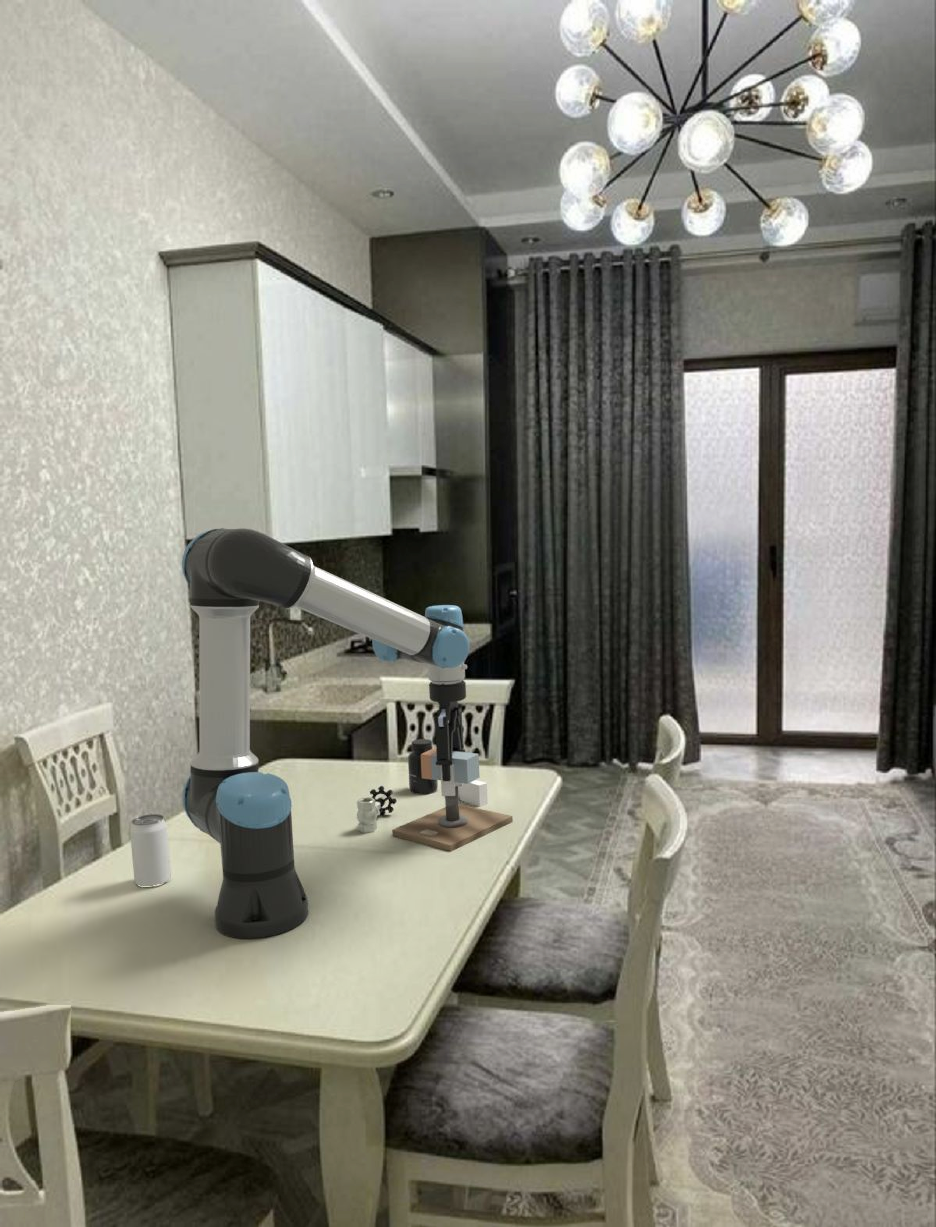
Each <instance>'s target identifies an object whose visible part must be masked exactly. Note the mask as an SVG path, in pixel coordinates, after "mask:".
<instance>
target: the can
mask: <svg viewBox="0 0 936 1227" xmlns="http://www.w3.org/2000/svg"><path fill="white" fill-rule="evenodd" d="M164 818H165V817H164V815H163V814H158V813H154V814H145V815H141V816H137V817H135V818H133V819H132V820H131V827H130V830H129V833H130V835H129V836H130V845H131V858H132V867H133V868H132V870H133V880H134V884H135V885H136V884H137V885H140V886H153V885H157V884H162V883H165V882H167V881H168V880H169V879H170V880H171V878H172V869H171V868H172V867H171V860H170V859H171V857H170V845H169V835H168V834H169V833H168V826H167V822H166V821H165V819H164ZM170 880H169V881H170ZM169 881H168V882H169ZM168 882H167V883H168ZM165 884H166V883H165ZM137 885H136V886H137Z"/></svg>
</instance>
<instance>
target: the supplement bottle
mask: <svg viewBox="0 0 936 1227" xmlns="http://www.w3.org/2000/svg"><path fill="white" fill-rule="evenodd" d="M431 749H433V742H432V740H431V739H428V738H420V739H414V740H413V741H411V751H412V752H410V753H409V755H408V757H407V761H408V762H407V765H408V767H407V768H408V786H409V787H408V788H409V791H410V793H412V794H415V795H428V794H433V793H435V792H436V791H437V790H438V788H439V787H438V781H439V780H434V779H432V780H431V779H424V778H422V771H421V754H423V753H425V752H427V751H429V750H431Z"/></svg>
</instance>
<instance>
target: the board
mask: <svg viewBox="0 0 936 1227" xmlns="http://www.w3.org/2000/svg"><path fill="white" fill-rule="evenodd" d="M444 803H445V805H444V806H445V807H443V808H441V809H438V810H435V811H433V812H431V813H429V814H426V815H424V816H421V817H420V818H417V819H414V820H411V821H409V822H407V823H405V824H403V825H399V826H397V827H395V828H393V829H391V833H392V834H391V835H392V836H394V837H396V838H401V839H405V840H408V841H412V842H416V843H419V844H423V845H427V846H430V847H434V848H438V849H442V850H446V851H449V852H452V851H455V850H457V849H459V848H460V847H463V846H466V845H467V844H469V843H471V842H473V841H475V840H477V839H479V838H481V837H484V836H486V835H487V834H490V833H492V832H495V830H497V829H498V830H499V829H500V828H502V827H504V826H507V825H509V824H511V823H513V821H514V820H513V815H509V814H505V813H501V812H496V811H492V810H488V809H487V810H486V809H482V808H478V807H474V806H469V805H465V804H460V797H458V786H455V796H444Z"/></svg>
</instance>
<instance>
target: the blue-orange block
mask: <svg viewBox="0 0 936 1227" xmlns="http://www.w3.org/2000/svg"><path fill="white" fill-rule="evenodd" d="M479 758H480V756H479V753H473V752H466V751H465V752H457V751H452V764H454V777H455V786H459V785H460V783H464V784H469V783H471V782H472V781H474V780H478V779H479V778H480V760H479ZM436 762H437V752H436V748H432V749H431V750H429V751H427V752H425V753H423V754H421V771H422V778H424V779H431V780H432V779H434V780H438V781H441V772H440V765H436Z"/></svg>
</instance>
